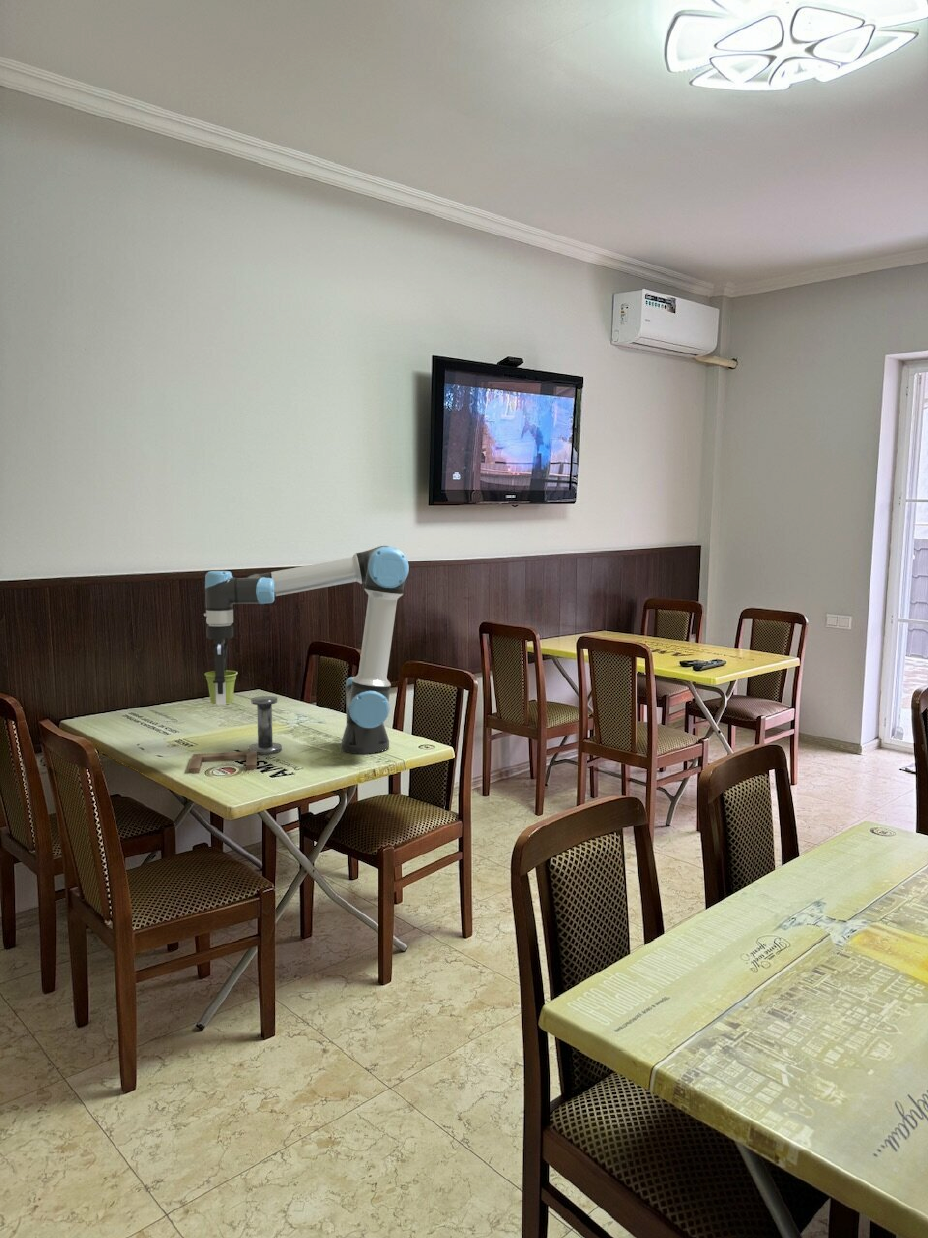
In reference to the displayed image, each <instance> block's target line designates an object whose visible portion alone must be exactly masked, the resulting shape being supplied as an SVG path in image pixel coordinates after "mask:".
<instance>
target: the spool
mask: <svg viewBox="0 0 928 1238" xmlns="http://www.w3.org/2000/svg"><path fill="white" fill-rule="evenodd" d="M278 698H279V697H277V696H272V695H264V696H263V695H262V696H254V697H252V698H250V700H251V705H255V706H256V708H257V710H256V711H257V712H256V714H257V742H256V743H254V744H251V745H249V747H248V751H257V756H269V755H275V754H276V755H277V754H279V753H281V752H282V751H283V748H282V744H281V743H280V742H279V743H278V742H273V708H272V707H273V705H275V704H277V703H278V702H279V700H278Z"/></svg>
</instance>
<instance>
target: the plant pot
mask: <svg viewBox="0 0 928 1238" xmlns="http://www.w3.org/2000/svg"><path fill="white" fill-rule="evenodd" d="M203 675H204V676H205V679H206V681H207V687H208V693H209V700H210V703H212V704H214V705H216V686H215V683H213V680H215V670H212V671H207V672H205V673H204V674H203ZM237 675H238V671H236V670H227V671H225V690H226V704H231V703H232V702H233V697H234V691H235V684H236V683H235V682H236V679H237ZM218 678H219V677H218Z"/></svg>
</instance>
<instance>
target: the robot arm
mask: <svg viewBox="0 0 928 1238" xmlns="http://www.w3.org/2000/svg"><path fill="white" fill-rule="evenodd" d="M409 569H410V567H409V562H408V559H407V556H406V555H405V554H404V553H403V552H402V551H401V550H400V549H398V548H396V547H393V546H389V545H380V546H377V547H374V548H371V549H369V550H365V551H361V552H355V553H354V554H353V556H351V557H347V558H341V559H336V560H331V561H330V560H329V561H325V562H319V563H314V564H307V565H302V566H297V567H293V568H291V567H290V568H287V569H286V568H285V569H281V570H275V571H271V572H264V573H254V574H250V575H249V576H247V577H241V578H240V577H239V578H238V577H233V575H232V574H233V573H232V572H231V571H229V570H210V571H208V572H207V573H205V576H204V577H205V578H204V580H205V581H204V594H205V597H204V598H205V600H204V601H205V613H203V616H204V618H205V617H206V619H205V621H206V622H205V623H206V631H205V633H206V638H207V639H209V640H215V643H213V645H212V651H213V659H214V671H215V680H213V683H215V686H216V704H215V706H226V705H227V703H226V690H225V671H228V669H227V657H228V643H227V642H226V640H228V639H232V638H233V637H234V626H233V623H234V608H233V605H238V604H241V605H242V604H243V605H244V604H245V605H246V604H247V605H248V604H254V605H255V604H259V605H265V604H272V603H274V601H275V597H278V596H279V597H280V596H283V595H289V594H290V595H291V594H294V593H302V592H306V591H310V590H317V589H322V588H328V587H333V586H334V587H335V586H338V585H344V584H351V583H356V582H357V583H359V584H360V585H362V584H364V591H365V593H366V594H367V595H368V597H367V605H366V606H367V607H366V613H365V621H364V627H363V628H364V629H363V634H362V642H361V643H362V644H361V650H360V651H361V652H360V660H359V667H358V673H357V674H356V676H353V677H352V676H350V677H348V678H347V679H346V683H345V690H346V691H345V692H346V693H345V694H346V705H345V706H346V726H345V729H344V732H343V736H342V739H341V743H340V746H341V750H342V751H343V752H346V753H349V754H359V755H368V754H369V753H371V754H376V753H375V752H378V753H380V752H379V751H382V750H385V749H387V748H390V740H389V737H388V733H387V731H386V727H385V725H384V723H385V721H386V720H387V718H388V717H389V713H390V710H391V709H390V703H389V701H390V693H391V686H392V684H391V682H390V680H389V679H388V678H387V677H388V670H389V663H390V656H391V649H392V641H393V633H394V626H395V620H396V612H397V604H398V600H399V599H400V598H401V597H402V596H403V595H404V589H405V585H406V584H405V583H406V579H407V577H408V575H409ZM218 677H219V678H218ZM387 750H388V749H387ZM385 751H386V750H385Z"/></svg>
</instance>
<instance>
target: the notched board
mask: <svg viewBox="0 0 928 1238" xmlns="http://www.w3.org/2000/svg"><path fill="white" fill-rule="evenodd" d="M241 760H242V761H244V760H245V771H255V770H254V769H257V768H258V767H257V765H258V755H257V751H249V750H246V751H244V750H243V751H227V752H224V751H223V752H209V753H208V752H207V753H193V754H192V756H191V758H190V762H189V765H188V767H187V769H188V770H187V773H192V774H199V773H201V768H202V764H203V763H206V762H227V761H241Z"/></svg>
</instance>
